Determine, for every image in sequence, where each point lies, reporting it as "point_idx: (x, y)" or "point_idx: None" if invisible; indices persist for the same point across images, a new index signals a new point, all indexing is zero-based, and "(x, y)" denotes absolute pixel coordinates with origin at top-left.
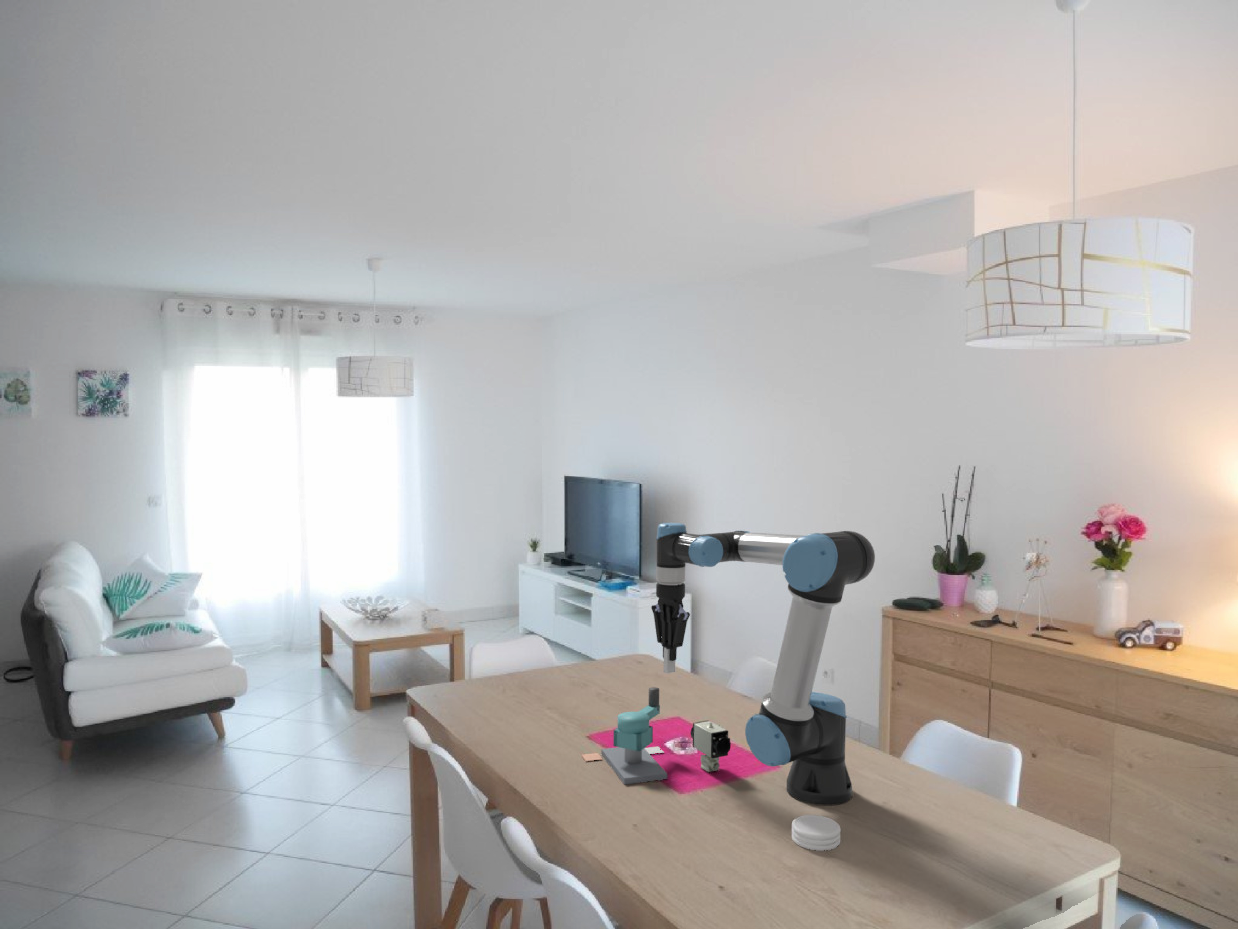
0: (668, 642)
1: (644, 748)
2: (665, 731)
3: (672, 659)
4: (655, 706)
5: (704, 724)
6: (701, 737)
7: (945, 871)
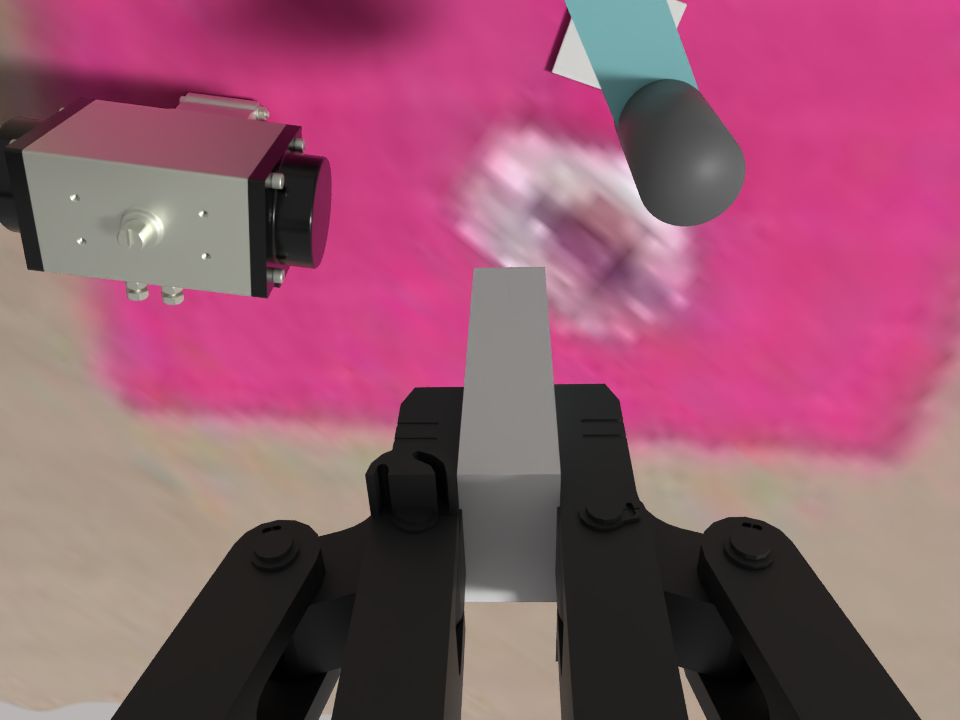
0: (442, 571)
1: (676, 9)
2: (797, 289)
3: (403, 406)
4: (623, 111)
5: (202, 226)
6: (171, 142)
7: None
